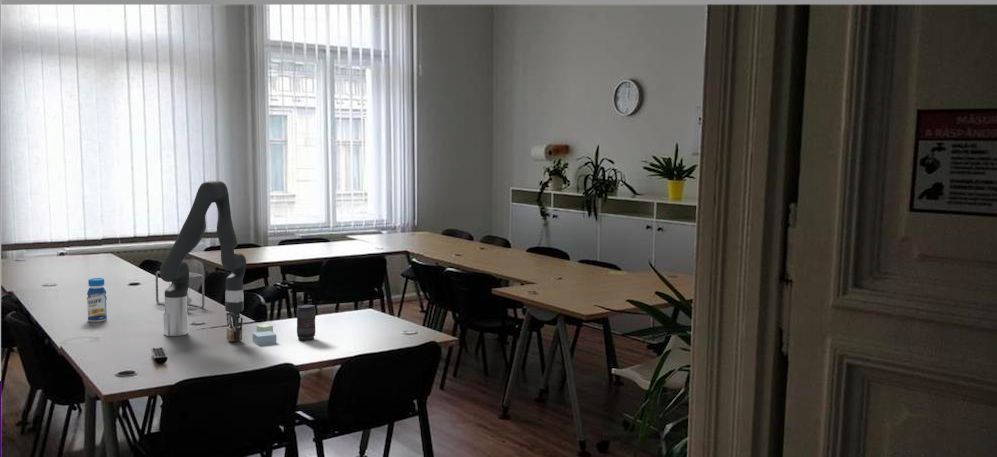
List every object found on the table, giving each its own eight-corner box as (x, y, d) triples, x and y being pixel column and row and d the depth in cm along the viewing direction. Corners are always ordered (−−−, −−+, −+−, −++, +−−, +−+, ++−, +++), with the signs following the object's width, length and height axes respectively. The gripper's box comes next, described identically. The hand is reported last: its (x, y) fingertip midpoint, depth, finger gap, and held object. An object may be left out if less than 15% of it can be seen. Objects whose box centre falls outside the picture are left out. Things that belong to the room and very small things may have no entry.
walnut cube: (230, 341, 339) (230, 330, 339) (226, 339, 343) (226, 327, 343) (242, 340, 342) (242, 328, 342) (238, 337, 346) (238, 326, 346)
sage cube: (263, 338, 349) (263, 327, 349) (256, 336, 352) (256, 325, 352) (273, 336, 353) (272, 325, 353) (266, 334, 356) (266, 324, 356)
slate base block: (257, 345, 337) (257, 336, 336) (252, 341, 344) (252, 332, 343) (276, 343, 341) (276, 334, 341) (270, 339, 348) (270, 330, 347)
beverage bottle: (111, 318, 382) (109, 277, 381) (100, 322, 374) (99, 280, 372) (94, 318, 383) (93, 277, 381) (83, 321, 375) (82, 280, 373)
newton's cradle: (155, 303, 422) (155, 270, 420) (174, 301, 430) (173, 268, 428) (186, 311, 404) (185, 277, 402) (205, 308, 412) (204, 274, 410)
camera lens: (319, 338, 351) (318, 304, 350) (309, 342, 344) (309, 308, 342) (302, 336, 354) (302, 303, 352) (293, 340, 346) (293, 306, 344)
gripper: (220, 297, 344) (220, 336, 346) (231, 303, 333) (231, 343, 335) (237, 296, 349) (237, 334, 351) (248, 301, 338) (248, 341, 339)
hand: (234, 338), depth 343 cm, fingers closed on walnut cube, 5 cm apart
